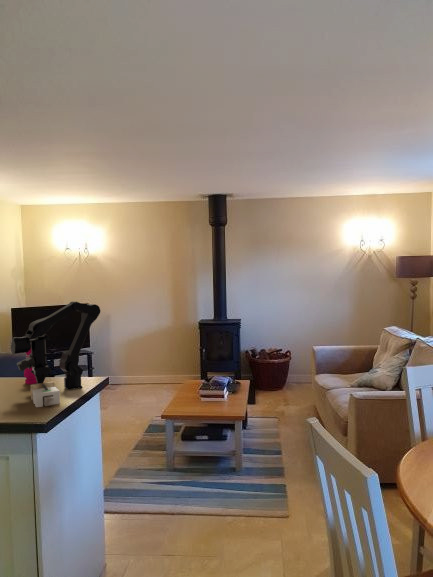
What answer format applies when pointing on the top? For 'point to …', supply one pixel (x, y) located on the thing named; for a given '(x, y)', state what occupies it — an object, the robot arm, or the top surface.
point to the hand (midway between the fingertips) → (39, 387)
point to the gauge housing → (42, 392)
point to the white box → (46, 399)
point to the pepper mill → (29, 373)
